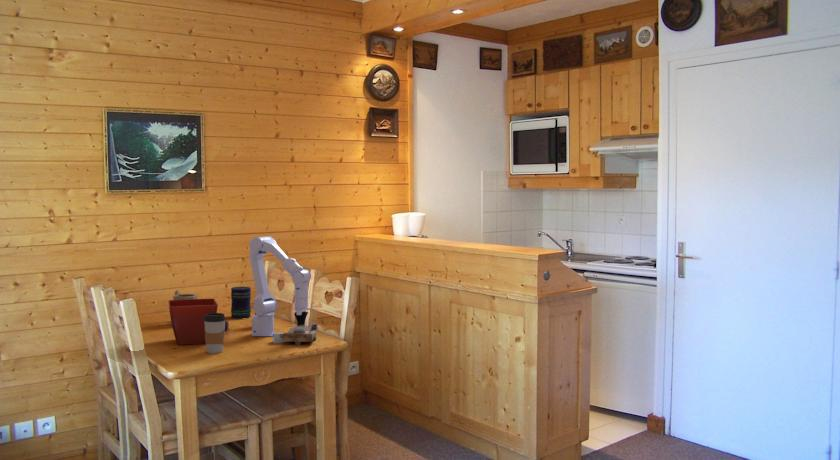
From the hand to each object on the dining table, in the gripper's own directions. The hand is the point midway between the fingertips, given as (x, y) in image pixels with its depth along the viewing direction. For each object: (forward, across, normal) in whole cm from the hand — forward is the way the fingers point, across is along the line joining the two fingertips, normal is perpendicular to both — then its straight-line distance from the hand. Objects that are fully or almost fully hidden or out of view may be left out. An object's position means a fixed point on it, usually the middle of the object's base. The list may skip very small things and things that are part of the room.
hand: (301, 328), depth 306 cm
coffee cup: (+5, -25, +31) cm, 40 cm away
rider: (+2, -5, 0) cm, 5 cm away
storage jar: (+5, +52, +37) cm, 64 cm away
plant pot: (+5, -6, +45) cm, 46 cm away
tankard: (+5, +35, +61) cm, 70 cm away
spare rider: (+5, -6, +9) cm, 12 cm away
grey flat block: (+5, 0, 0) cm, 5 cm away
